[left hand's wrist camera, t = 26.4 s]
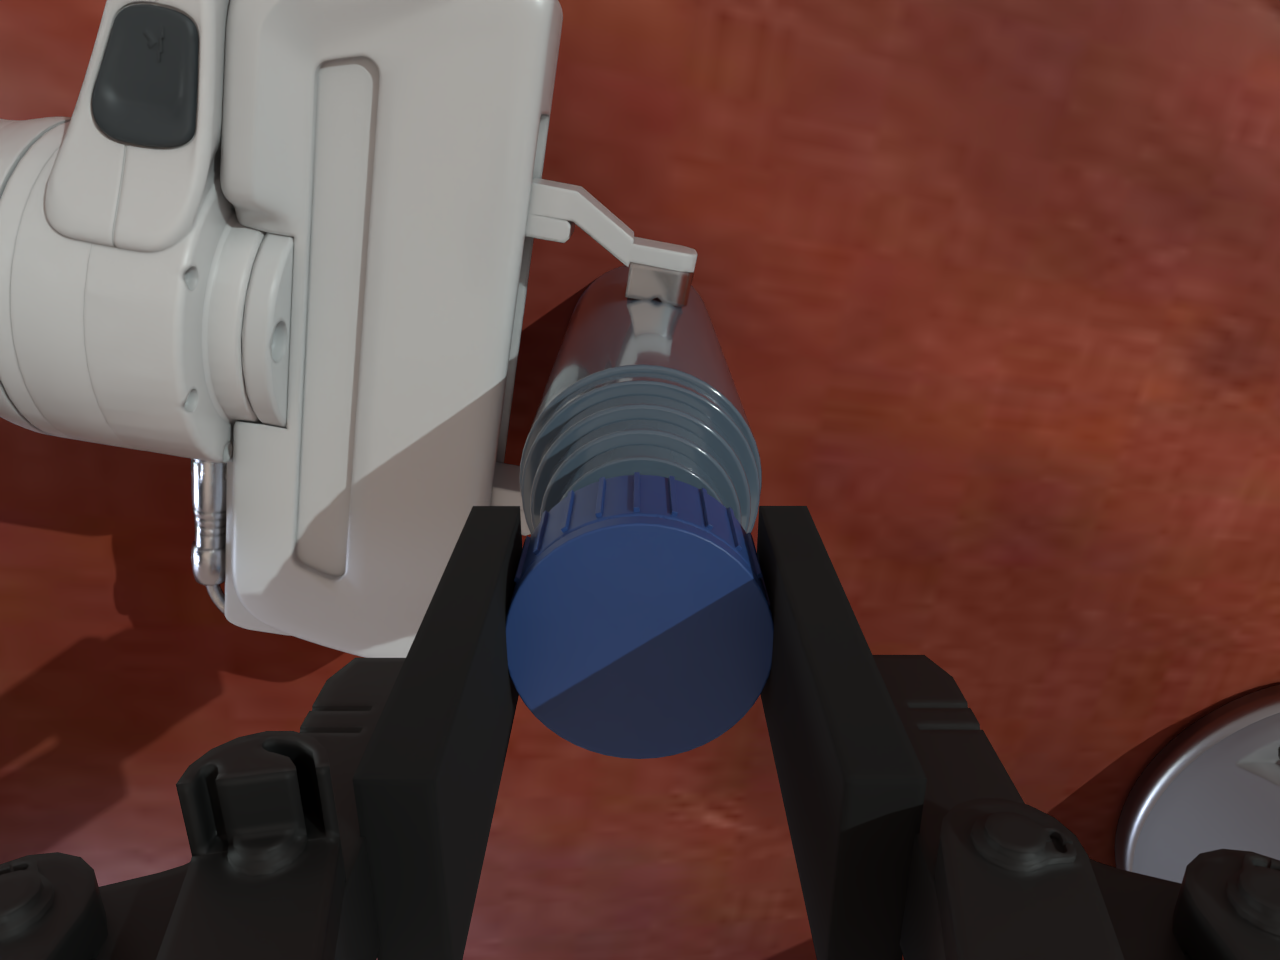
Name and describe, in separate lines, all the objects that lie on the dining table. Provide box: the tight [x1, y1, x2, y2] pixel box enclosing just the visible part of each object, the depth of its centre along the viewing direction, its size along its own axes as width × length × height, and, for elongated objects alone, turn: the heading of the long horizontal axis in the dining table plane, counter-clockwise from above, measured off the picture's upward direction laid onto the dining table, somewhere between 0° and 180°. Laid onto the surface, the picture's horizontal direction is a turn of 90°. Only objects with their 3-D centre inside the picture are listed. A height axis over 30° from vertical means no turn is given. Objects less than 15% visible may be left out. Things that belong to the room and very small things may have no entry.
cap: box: [506, 472, 774, 759], centre depth 14 cm, size 4×4×2 cm
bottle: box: [519, 266, 762, 535], centre depth 23 cm, size 5×5×20 cm
